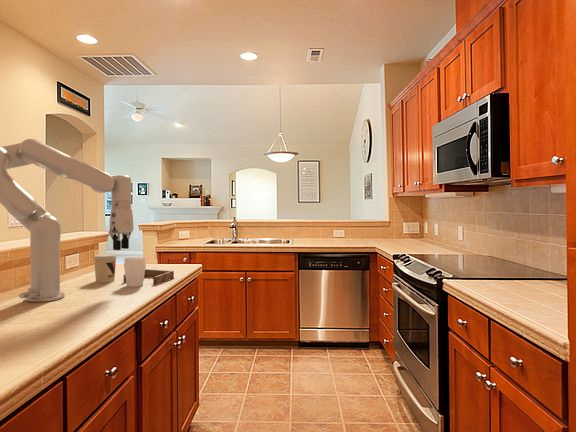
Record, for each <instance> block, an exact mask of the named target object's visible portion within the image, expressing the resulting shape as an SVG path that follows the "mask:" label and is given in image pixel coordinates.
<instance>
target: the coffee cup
mask: <svg viewBox="0 0 576 432" xmlns="http://www.w3.org/2000/svg"><path fill="white" fill-rule="evenodd" d="M93 259H94V274H95V276H94V277H95V282H96V283H97V284H99V283H100V284H101V283H102V284H103V283H104V284H105V283H113V282H115V277H116V275H115V274H116V265H117V264H116V262H117V255H116V254H114V253H102V254H95V255H94V257H93Z"/></svg>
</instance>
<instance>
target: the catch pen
mask: <svg viewBox="0 0 576 432" xmlns="http://www.w3.org/2000/svg"><path fill="white" fill-rule="evenodd" d="M174 273H175V271H174V270H163V269H146V268H145V274H144V278H153V282H152V284H153V286H157V285H159V283H160V284H163V283H164V282H167V280H168V281H170V280H172V278H173V279H174V278H175V277H174V276H175V275H174ZM169 279H170V280H169ZM123 283H125V284H127V283H126V276H125V274H123Z"/></svg>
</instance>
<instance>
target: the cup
mask: <svg viewBox="0 0 576 432" xmlns="http://www.w3.org/2000/svg"><path fill="white" fill-rule="evenodd" d="M123 260H124V261H123V268H124V275H125V276H126V283H125V284H126V287H129V288H131V287H132V288H137V287H141V286H143V285H144V282H145V281H144V279H145V277H144V274H145V269H146V267H147V260H146V257H144V256H142V257H141V256H130V257H124V259H123Z"/></svg>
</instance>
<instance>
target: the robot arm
mask: <svg viewBox="0 0 576 432" xmlns="http://www.w3.org/2000/svg"><path fill="white" fill-rule="evenodd" d="M32 164H33V165H35V166H37V167H39V168H41V169H44V170H45V171H48V172H50V173H52V174H55V175H56V176H59V177H61V178H65V179H69V180H72V181H76V182H79V183H81V184H84V185H86V186H88V187H90V188H91V190H92V191H93V192H96V193H99V194H102V193H103V194H104V193H105V194H106V193H110V194H111V195H110V196H111V197H110V198H111V201H110V202H111V205H110V206H111V207H110V214H109V215H110V216H109V231H108V235H109V236H110V238H111V240H112V246H113V247H112V249H113V251H121V250H122V249H126V250H127V249H129V248H130V241H129V240H130V236H131V234H132V233H133V231H134V216H133V210H132V178H131V176H129V175H120V174H118V175H111V174H109V173H107V172H105V171H104V170H101V169H99V168H97V167H95V166H93V165H91V164H88V163H86V162H84V161H82V160H80V159H77V158H75V157H73V156H71V155H68V154H66V153H64V152H62V151H60V150H58V149H56V148H54V147H52V146H50V145H48V144H46V143H44V142H41V141H39V140H37V139H34V138H27V139H24V140H23V141H21V142H19V143H16V144H8V145H3V146H0V204H1V206H3V207H4V208H5V209H6V210H7V212H8V213H9V214H10V215H11V216H12V217H14V219H15V220H16V221H18V222H19V223H20V224H21V225H22V226H23V227H25V229H27V230H28V231H29V232H30V239H29V241H30V244H29V245H30V247H29V250H30V251H29V255H30V256H29V257H30V287H29V288H27V291H26V292H21V293H19V296H18V297H19V298H20V299H25V301H27V302H30V303H42V302H52V301H57V300H60V299H63V298H65V292H62V291H61V248H60V247H61V237H62V236H61V235H62V228H61V223H60V222H59V219H57V217H55V216H53V215H51V213H49V212H48V211H47V210H46V209H45V208H44V207H43V206H42V205H41V204H40V203H39V202H38V201H37V200H36V199H35V197H34V196H33V195H31V194H29V193H28V192H27V191H26V190H25V189H24V188H23V187H22V186H21V185H19V184H18V183H17V181H15V180H14V178H12V176H10V174H9V173H8V170H10V169H15V168H20V167H24V166H28V165H32Z"/></svg>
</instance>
